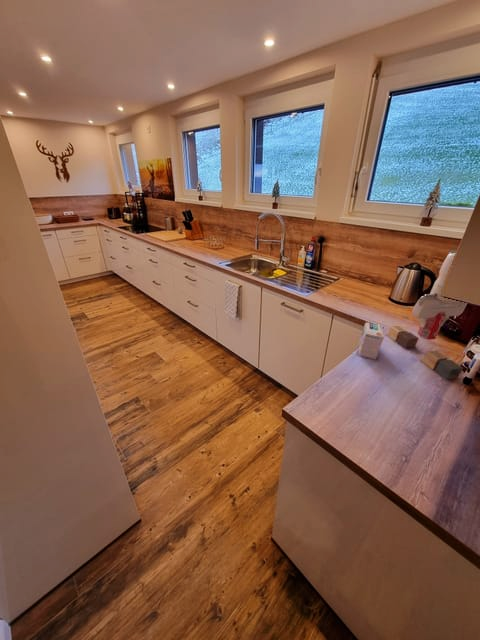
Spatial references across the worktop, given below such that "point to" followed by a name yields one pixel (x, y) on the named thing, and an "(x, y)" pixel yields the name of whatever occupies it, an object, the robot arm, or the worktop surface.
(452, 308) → the robot arm
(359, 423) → the worktop surface
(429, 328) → the beverage can
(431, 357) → the block row
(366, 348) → the light bulb box
